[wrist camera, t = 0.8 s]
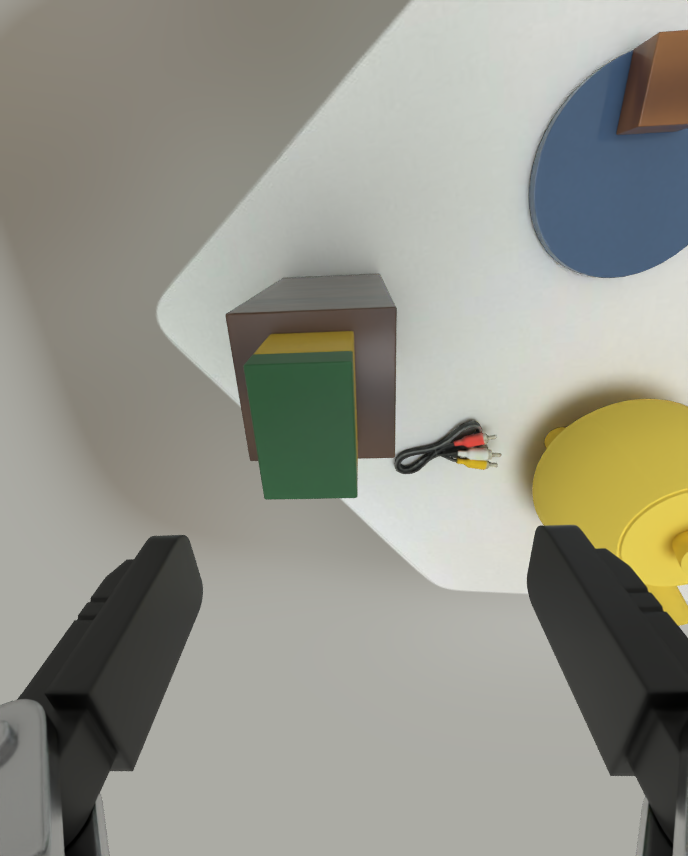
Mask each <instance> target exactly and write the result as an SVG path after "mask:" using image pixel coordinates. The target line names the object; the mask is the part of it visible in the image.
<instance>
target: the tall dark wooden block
mask: <svg viewBox="0 0 688 856" xmlns="http://www.w3.org/2000/svg"><path fill="white" fill-rule="evenodd" d="M396 316H397V308H396V306H395V304H394V302H393V300H392V298H391V296H390V294H389V292H388V290H387V288H386V286H385V284H384V282H383V279H382V277H381V275H380V274H359V275H337V276H315V277H293V278H282V279H281V280H279V281H278V282H276V283H274V284H273V285H271V286H270V287H268V288H266V289H265V290H263V291H262V292H260V293H259V294H257V295H255V296H254V297H252V298H251V299H249V300H247V301H246V302H244V303H243V304H241V305H239V306H238V307H236V308H235V309H233V310H232V311H230V312H228V313H227V314H226V322H227V327H228V333H229V339H230V345H231V351H232V357H233V363H234V369H235V375H236V380H237V386H238V392H239V398H240V404H241V410H242V416H243V421H244V428H245V433H246V439H247V445H248V451H249V457H250V461H258V455H257V449H256V442H255V436H254V430H253V424H252V417H251V411H250V405H249V399H248V392H247V386H246V380H245V373H244V367H243V366H244V364H245V363H246V362H247V361H248V360H249V358H250V357H251V356H252V355H253V354H254V353H255V352H256V350H257V349H258V348H259V347H260V346H261V345H262V343H263V342H264V341H265V340H266V339H267V338H268V336H269V335H270V334H287V333H313V332H339V331H353V332H354V352H355V381H356V410H357V439H358V458H394V457H395V405H396Z"/></svg>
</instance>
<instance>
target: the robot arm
mask: <svg viewBox="0 0 688 856" xmlns="http://www.w3.org/2000/svg"><path fill="white" fill-rule="evenodd" d="M527 588H528V593H529V597H530V601H531V604H532V606H533V608H534V610H535V612H536V615H537V617H538V619H539V621H540V623H541V626H542V628H543V630H544V632H545V634H546V636H547V639H548V641H549V643H550V645H551V647H552V650H553V652H554V654H555V656H556V658H557V660H558V663H559V665H560V667H561V669H562V671H563V673H564V676H565V678H566V680H567V682H568V684H569V686H570V688H571V691H572V693H573V695H574V697H575V699H576V702H577V704H578V706H579V708H580V710H581V713H582V715H583V717H584V719H585V721H586V723H587V725H588V728H589V730H590V732H591V734H592V736H593V739H594V741H595V743H596V745H597V747H598V750H599V752H600V754H601V756H602V758H603V760H604V762H605V765H606V767H607V769H608V771H609V773H610V775H611V776H636V778H637V780H638V782H639V784H640V786H641V788H642V790H643V792H644V794H645V798H644V801H643V804H642V810H641V818H640V827H639V834H638V842H637V850H636V856H688V638H687V636H686V635H685V634H684V633H683V631H682V630H681V629H680V628H679V626H678V625H677V624H676V623H675V621H674V620H673V619H672V618H671V616H670V615H669V614H668V613H667V612H664V611H663V606H662V605H661V604H660V603H659V601H658V600H657V599H656V598H655V596H654V595H653V594H652V593H649V592H648V588H647V586H646V585H645V584H644V583H643V581H642V580H641V579H640V578H639V577H638V575H637V574H636V573H635V572H634V570H633V569H632V568H631V567H630V566H629V565H628V564H626V563H625V562H624V561H622V560H621V559H620V558H618V557H617V556H615V555H614V554H613V553H611V552H610V551H609V550H607V549H606V548H598V549H595V548H594V546H593V545H592V543H591V542H590V541H589V539H588V538H587V537H586V535H585V534H584V533H583V531H582V530H581V529H580V528H579V527H578V526H576V525H546V526H538V527H537V529H536V531H535V536H534V541H533V546H532V552H531V557H530V563H529V568H528V573H527ZM202 595H203V586H202V580H201V577H200V573H199V570H198V567H197V563H196V560H195V557H194V554H193V550H192V547H191V544H190V541H189V539H188V537H187V536H185V535H172V536H152V537H150V538H149V539H148V540H147V541H146V543H145V544H144V546H143V547H142V549H141V550H140V552H139V553H138V555H137V556H136V557H135V559H133V560H126V561H125V562H124V563H122V564H121V565H120V566H119V567H118V568H116V569H115V570H114V571H113V572H112V573H110V574H109V575H108V576H107V577H106V578H105V579H104V580H103V582H102V583H101V584H100V586H99V587H98V589H97V590H96V592H95V593H94V594H93V596H92V597H91V602H88V603H87V604H86V605H85V607H84V608H83V609H82V611H81V612H80V614H79V615H78V620H76V621H74V622H73V623H72V625H71V626H70V628H69V629H68V630H67V632H66V633H65V635H64V636H63V637H62V639H61V640H60V641H59V643H58V644H57V646H56V647H55V648H54V650H53V651H52V653H51V654H50V655H49V657H48V658H47V660H46V661H45V662H44V664H43V665H42V667H41V668H40V669H39V671H38V672H37V673H36V675H35V676H34V678H33V679H32V680H31V682H30V683H29V685H28V686H27V687H26V689H25V690H24V692H23V693H22V694H21V695H20V697H19V698H18V699H17V700H15V701H11V702H8V703H5V704H2V705H0V856H110V854H109V846H108V840H107V831H106V824H105V816H104V809H103V801H102V797H101V794H100V791H101V789H102V786H103V784H104V782H105V780H106V778H107V776H108V773H109V771H133V770H134V767H135V765H136V762H137V760H138V757H139V755H140V752H141V750H142V748H143V745H144V743H145V741H146V738H147V735H148V733H149V731H150V728H151V726H152V723H153V721H154V719H155V716H156V714H157V711H158V709H159V707H160V704H161V702H162V699H163V697H164V694H165V692H166V690H167V687H168V685H169V682H170V680H171V677H172V675H173V673H174V670H175V668H176V665H177V663H178V661H179V658H180V656H181V653H182V651H183V649H184V646H185V644H186V641H187V639H188V637H189V634H190V632H191V629H192V627H193V624H194V622H195V620H196V617H197V615H198V612H199V610H200V606H201V603H202Z"/></svg>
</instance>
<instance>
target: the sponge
mask: <svg viewBox="0 0 688 856" xmlns="http://www.w3.org/2000/svg"><path fill="white" fill-rule="evenodd" d="M243 367H244V373H245V380H246V386H247V392H248V399H249V405H250V411H251V417H252V424H253V430H254V436H255V442H256V449H257V455H258V461H259V467H260V474H261V480H262V486H263V492H264V498H265V499H313V498H314V499H321V498H357V466H358V439H357V410H356V381H355V352H354V332H353V331H339V332H313V333H287V334H270V335H269V336H268V338H267V339H266V340H265V341H264V342H263V343H262V345H261V346H260V347H259V348H258V349H257V350H256V352H255V353H254V354H253V355H252V356H251V357H250V358H249V360H248V361H247V362H246V363H245V364H244V366H243Z"/></svg>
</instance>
